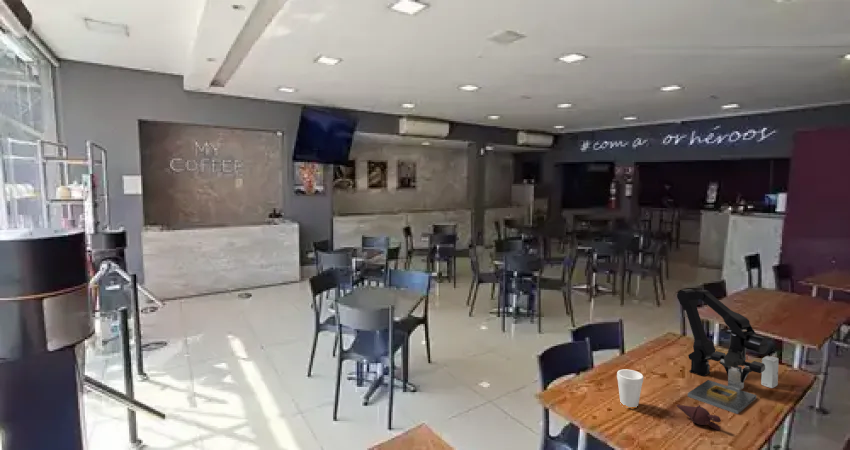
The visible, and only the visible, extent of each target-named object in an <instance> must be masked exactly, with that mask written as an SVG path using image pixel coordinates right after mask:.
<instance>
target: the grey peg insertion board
mask: <svg viewBox="0 0 850 450" xmlns="http://www.w3.org/2000/svg"><path fill="white" fill-rule="evenodd" d="M687 397H688V398H690V399H694V400H696V401H699V402H702V403H705V404H707V405H710V406H713V407H715V408H718V409H722V410H724V411H728V412H730V413H733V414H736V415H739V413H741V412H742V411H743V410H744V409H747V407H748V406H750V405H751V404H752V403H754V402H755V400H757V394H754V393H751V392H747V391H744V390H743V389H741V390H739V389H735V388H732V387H729V386H728V385H726V384H723V383H719V382H715V381H712V380H710V379H707V380H705V381H704V382H703V383H701V384H700V385H698V386H697V387H695V388H693V389H692V390H690V391H688V392H687Z"/></svg>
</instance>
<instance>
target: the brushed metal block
mask: <svg viewBox="0 0 850 450" xmlns="http://www.w3.org/2000/svg"><path fill="white" fill-rule="evenodd" d="M742 369H743V366H738V367H737V368H733V367H731V368H730V369H729V371H728V375H727V386H729V387H732V388H735V389H739V390H743V389H744V388H745V381H744V382H743V383H742V374H743V370H742Z"/></svg>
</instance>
